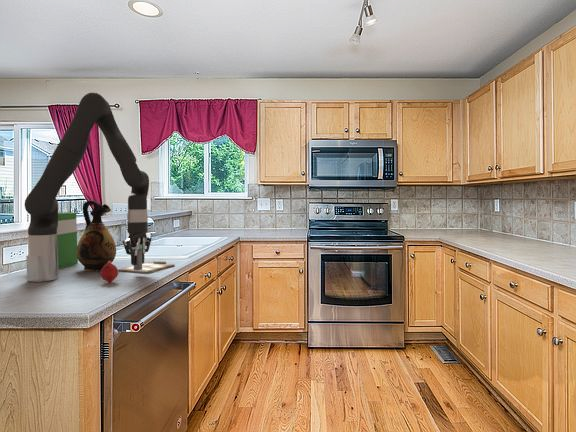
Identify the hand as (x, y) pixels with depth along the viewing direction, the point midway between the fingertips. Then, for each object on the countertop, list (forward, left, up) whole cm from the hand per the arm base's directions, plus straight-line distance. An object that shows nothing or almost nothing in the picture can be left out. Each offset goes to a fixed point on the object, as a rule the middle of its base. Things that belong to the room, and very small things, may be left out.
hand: (137, 264), depth 152 cm
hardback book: (+4, +48, -5) cm, 49 cm away
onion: (-14, +1, -5) cm, 14 cm away
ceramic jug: (+4, +27, -5) cm, 28 cm away
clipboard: (+13, +7, -5) cm, 16 cm away
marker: (0, 0, -2) cm, 2 cm away
